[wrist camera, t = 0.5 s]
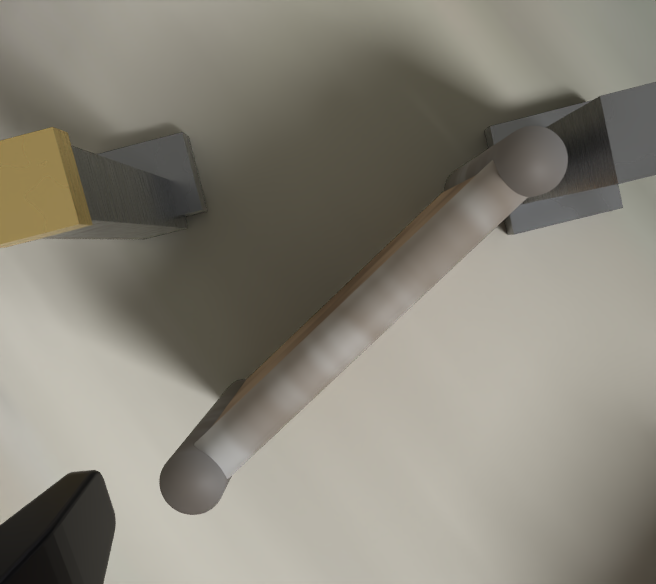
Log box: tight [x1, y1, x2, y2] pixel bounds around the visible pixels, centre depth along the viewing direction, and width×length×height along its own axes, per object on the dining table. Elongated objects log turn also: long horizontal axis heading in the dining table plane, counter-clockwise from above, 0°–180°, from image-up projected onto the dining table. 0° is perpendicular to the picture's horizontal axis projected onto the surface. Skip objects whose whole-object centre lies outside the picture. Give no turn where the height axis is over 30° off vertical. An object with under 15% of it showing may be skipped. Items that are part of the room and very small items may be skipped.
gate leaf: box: [160, 126, 568, 515], centre depth 21 cm, size 14×2×9 cm, turn 134°
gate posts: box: [0, 82, 656, 248], centre depth 20 cm, size 20×7×11 cm, turn 104°
